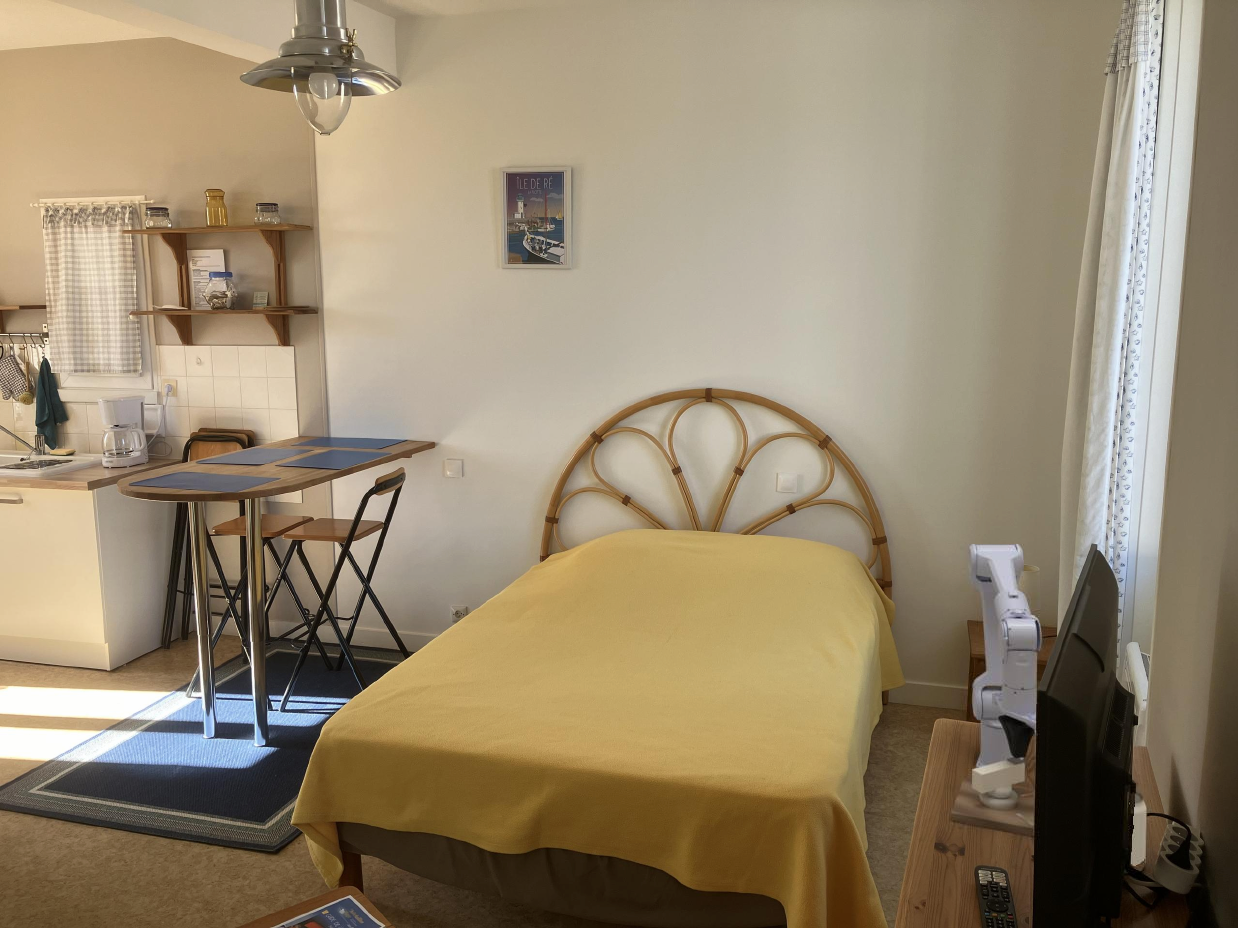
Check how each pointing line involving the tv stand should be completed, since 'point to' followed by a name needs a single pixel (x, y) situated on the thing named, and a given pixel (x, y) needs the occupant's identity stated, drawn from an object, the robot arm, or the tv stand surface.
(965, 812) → the base
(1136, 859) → the can
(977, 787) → the lock handle
